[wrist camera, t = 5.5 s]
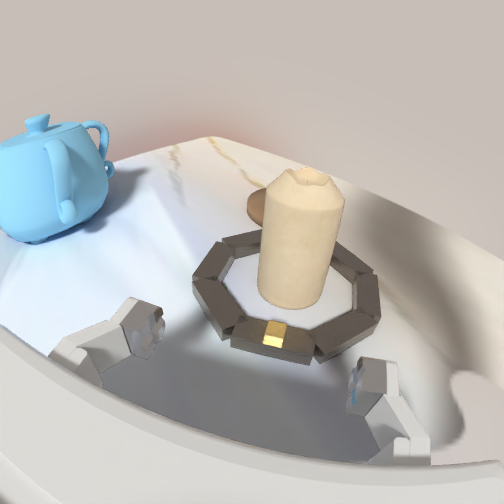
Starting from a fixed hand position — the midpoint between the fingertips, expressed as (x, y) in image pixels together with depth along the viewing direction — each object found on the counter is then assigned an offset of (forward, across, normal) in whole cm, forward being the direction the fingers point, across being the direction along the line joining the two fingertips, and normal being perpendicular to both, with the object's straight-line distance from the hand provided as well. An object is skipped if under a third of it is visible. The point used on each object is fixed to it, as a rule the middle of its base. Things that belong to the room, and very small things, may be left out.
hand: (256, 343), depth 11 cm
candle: (+12, 0, +7) cm, 14 cm away
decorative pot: (+14, +30, +7) cm, 34 cm away
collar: (+12, 0, +7) cm, 14 cm away
